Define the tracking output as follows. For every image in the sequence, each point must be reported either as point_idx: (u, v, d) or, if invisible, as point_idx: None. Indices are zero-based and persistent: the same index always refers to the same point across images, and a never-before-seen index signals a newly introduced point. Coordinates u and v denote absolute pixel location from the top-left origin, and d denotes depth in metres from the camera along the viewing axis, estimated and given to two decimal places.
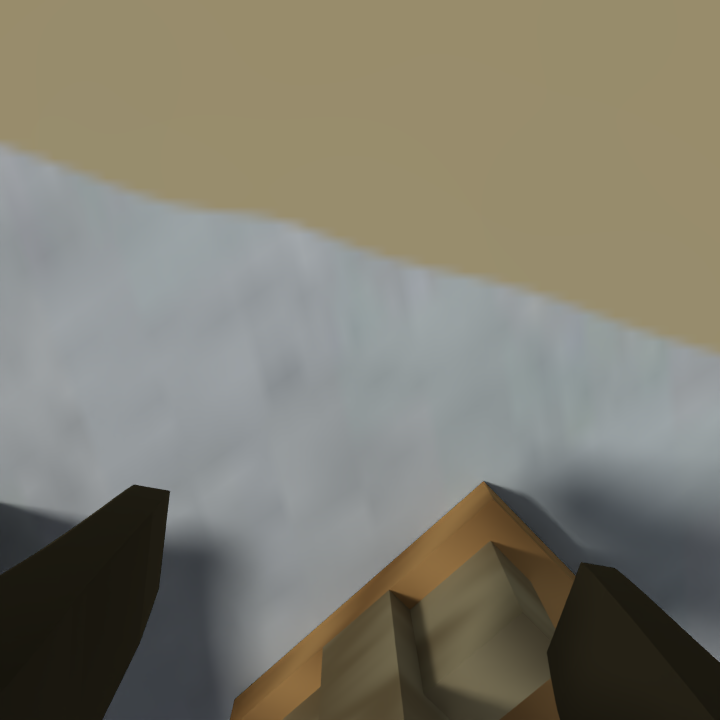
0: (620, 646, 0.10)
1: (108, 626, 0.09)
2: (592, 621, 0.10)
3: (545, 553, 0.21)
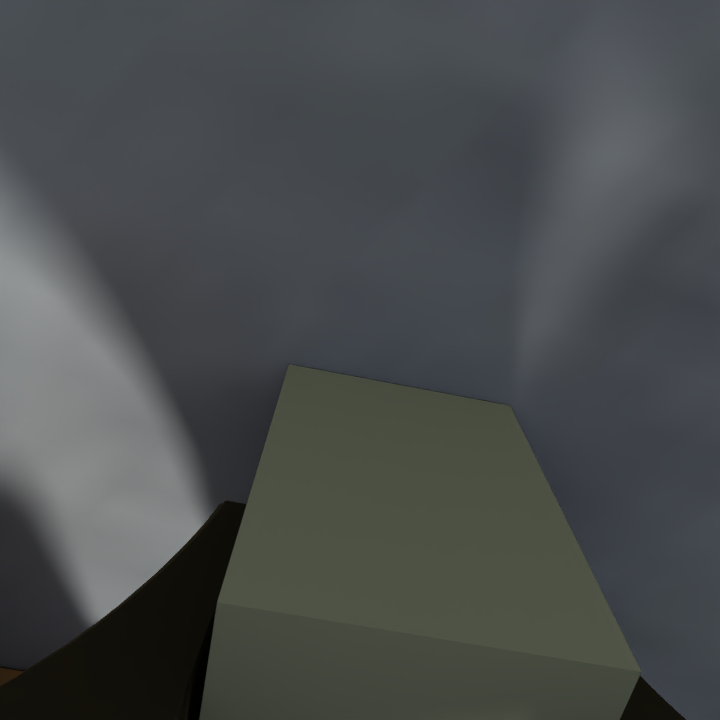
0: None
1: None
2: None
3: None
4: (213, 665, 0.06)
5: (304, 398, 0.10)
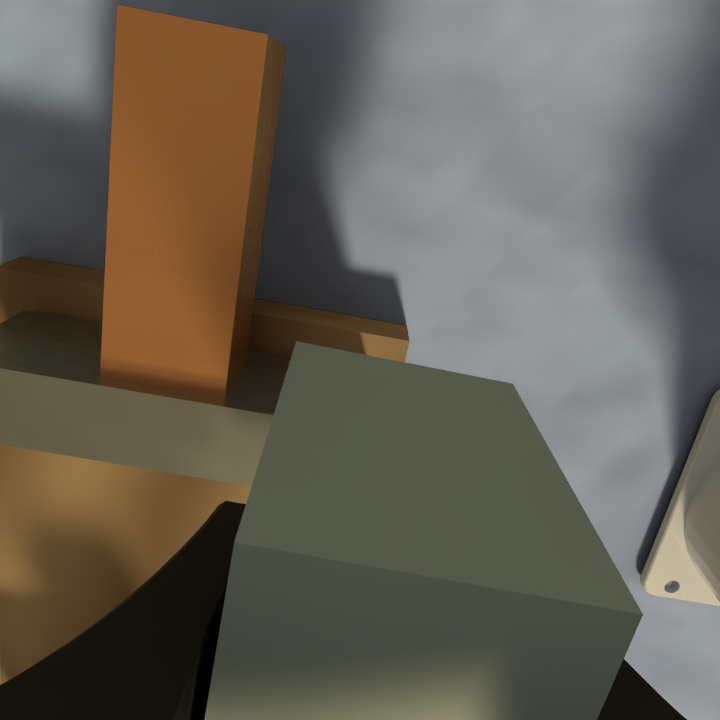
0: None
1: None
2: None
3: (1, 676, 0.24)
4: (229, 606, 0.06)
5: (312, 370, 0.11)
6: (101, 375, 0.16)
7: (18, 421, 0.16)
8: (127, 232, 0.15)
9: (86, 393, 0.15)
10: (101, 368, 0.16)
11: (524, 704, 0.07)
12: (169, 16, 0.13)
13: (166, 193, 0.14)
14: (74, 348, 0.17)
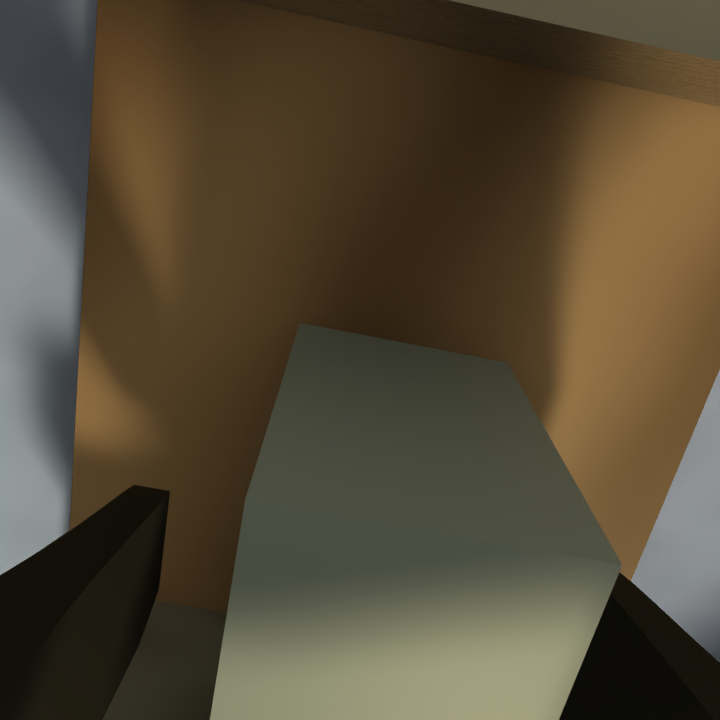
0: (620, 646, 0.10)
1: (108, 627, 0.09)
2: None
3: None
4: (240, 559, 0.07)
5: (315, 349, 0.11)
6: None
7: None
8: None
9: None
10: None
11: (514, 650, 0.07)
12: None
13: None
14: None
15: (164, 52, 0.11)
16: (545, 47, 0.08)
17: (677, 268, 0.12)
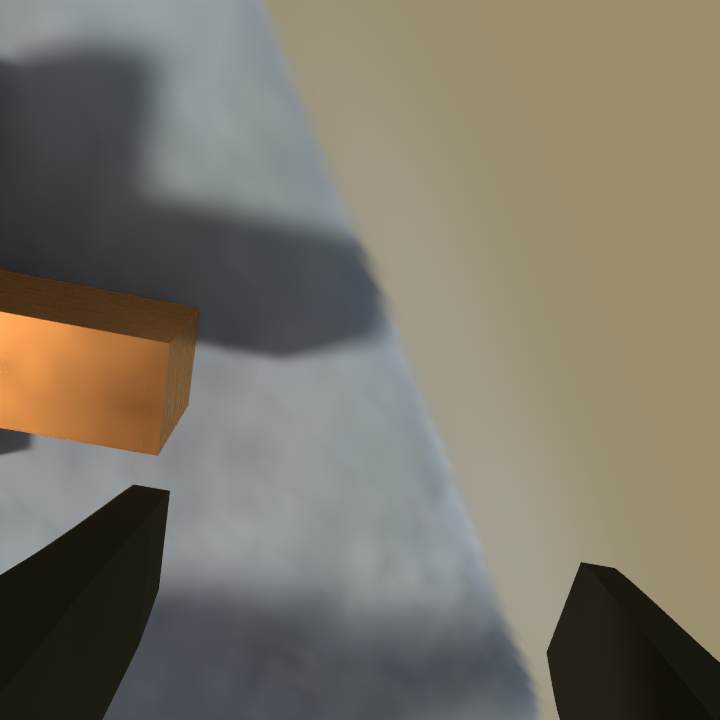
0: (620, 646, 0.10)
1: (108, 626, 0.09)
2: (592, 621, 0.10)
3: None
4: None
5: None
6: None
7: None
8: None
9: None
10: None
11: None
12: (164, 383, 0.16)
13: (17, 364, 0.16)
14: None
15: None
16: None
17: None
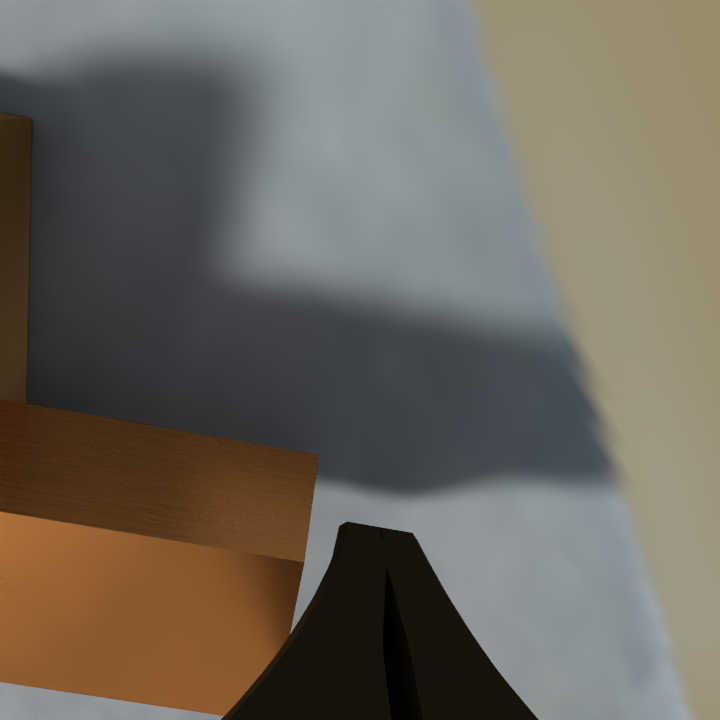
0: None
1: None
2: None
3: None
4: None
5: None
6: None
7: None
8: None
9: None
10: None
11: None
12: (290, 621, 0.09)
13: (45, 593, 0.09)
14: None
15: None
16: None
17: None
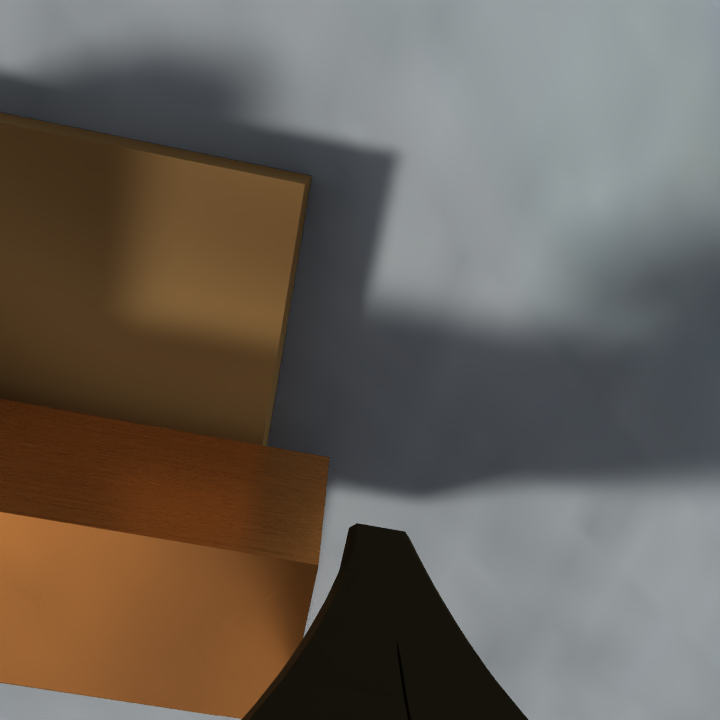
0: None
1: None
2: None
3: None
4: None
5: None
6: None
7: None
8: None
9: None
10: None
11: None
12: (304, 623, 0.09)
13: (58, 596, 0.09)
14: None
15: (61, 204, 0.11)
16: None
17: None
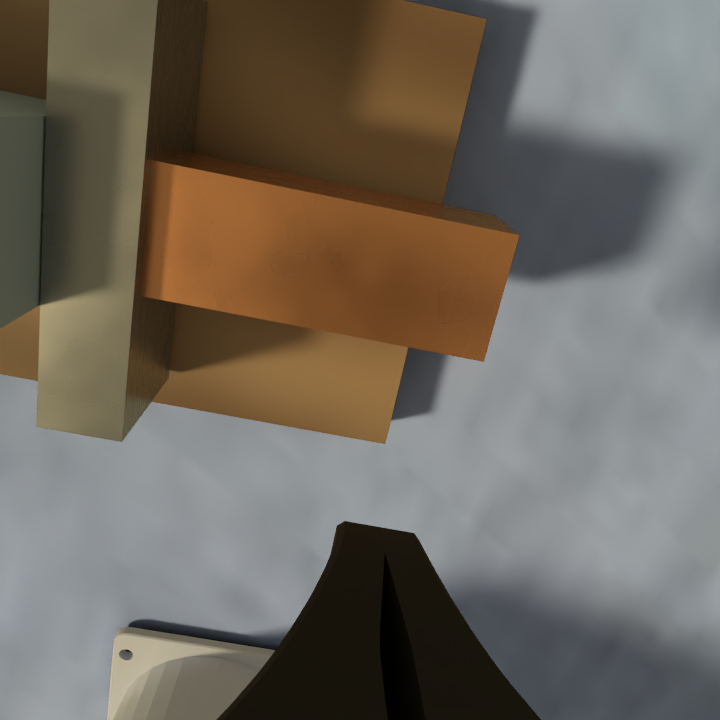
0: (385, 607, 0.09)
1: None
2: None
3: None
4: None
5: None
6: (153, 160, 0.14)
7: (84, 59, 0.13)
8: (314, 215, 0.14)
9: (132, 153, 0.13)
10: (161, 164, 0.14)
11: None
12: (505, 280, 0.15)
13: (352, 259, 0.15)
14: (174, 102, 0.15)
15: (321, 33, 0.16)
16: None
17: (208, 366, 0.20)
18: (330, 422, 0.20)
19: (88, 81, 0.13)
